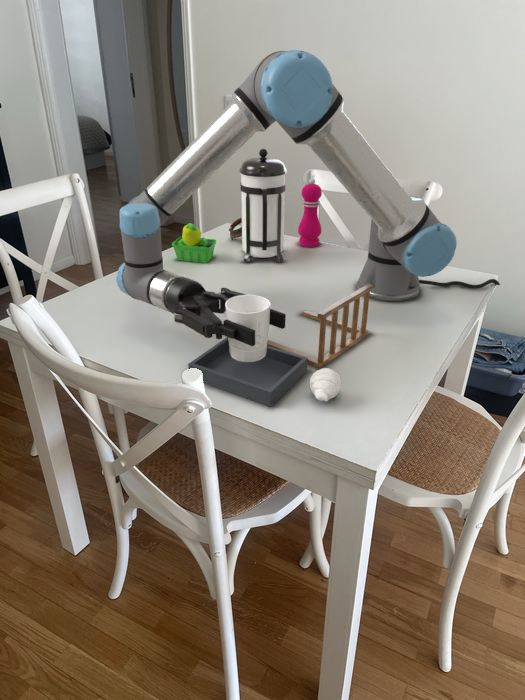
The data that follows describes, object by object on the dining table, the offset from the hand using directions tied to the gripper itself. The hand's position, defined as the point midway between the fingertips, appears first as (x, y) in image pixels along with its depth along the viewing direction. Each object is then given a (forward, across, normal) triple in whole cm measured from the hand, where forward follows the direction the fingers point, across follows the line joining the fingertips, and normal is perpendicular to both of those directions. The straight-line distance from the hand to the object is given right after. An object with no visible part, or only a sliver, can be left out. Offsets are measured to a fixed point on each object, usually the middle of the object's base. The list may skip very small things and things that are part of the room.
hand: (269, 329), depth 92 cm
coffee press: (-43, -52, -11) cm, 69 cm away
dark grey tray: (-5, 0, -11) cm, 12 cm away
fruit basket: (-58, -38, -11) cm, 70 cm away
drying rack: (-5, -20, -11) cm, 23 cm away
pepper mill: (-41, -71, -11) cm, 82 cm away
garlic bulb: (+11, -2, -11) cm, 16 cm away
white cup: (-5, 0, -7) cm, 8 cm away
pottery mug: (-59, -62, -11) cm, 86 cm away
